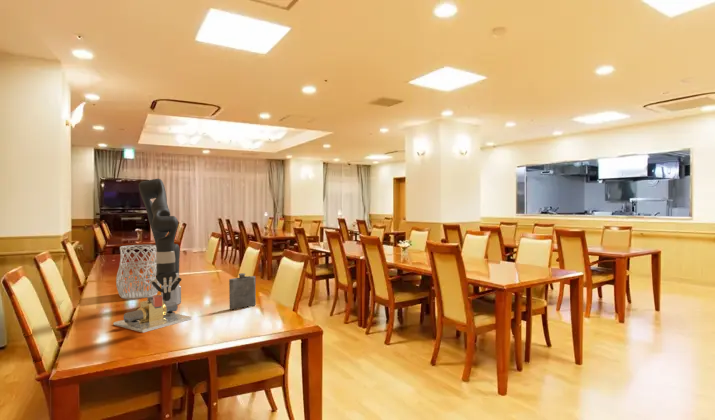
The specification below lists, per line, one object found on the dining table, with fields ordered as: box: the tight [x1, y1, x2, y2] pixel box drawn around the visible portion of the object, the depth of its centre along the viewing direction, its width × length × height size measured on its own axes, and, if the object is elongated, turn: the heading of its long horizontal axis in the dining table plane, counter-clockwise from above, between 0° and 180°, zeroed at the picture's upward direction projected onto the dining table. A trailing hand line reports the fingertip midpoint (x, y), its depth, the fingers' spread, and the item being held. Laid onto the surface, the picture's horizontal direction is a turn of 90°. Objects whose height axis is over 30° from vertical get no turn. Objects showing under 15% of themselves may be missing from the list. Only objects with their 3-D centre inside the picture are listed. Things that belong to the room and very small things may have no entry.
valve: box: [113, 300, 192, 333], centre depth 195 cm, size 24×23×10 cm
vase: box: [115, 244, 161, 300], centre depth 254 cm, size 24×24×30 cm
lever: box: [146, 294, 162, 309], centre depth 188 cm, size 21×4×5 cm, turn 34°
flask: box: [228, 272, 257, 310], centre depth 222 cm, size 4×14×18 cm, turn 129°
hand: (166, 300), depth 184 cm, fingers closed
